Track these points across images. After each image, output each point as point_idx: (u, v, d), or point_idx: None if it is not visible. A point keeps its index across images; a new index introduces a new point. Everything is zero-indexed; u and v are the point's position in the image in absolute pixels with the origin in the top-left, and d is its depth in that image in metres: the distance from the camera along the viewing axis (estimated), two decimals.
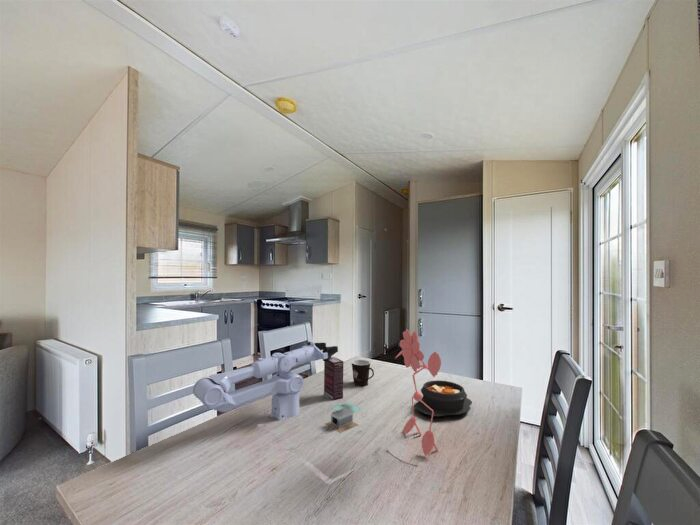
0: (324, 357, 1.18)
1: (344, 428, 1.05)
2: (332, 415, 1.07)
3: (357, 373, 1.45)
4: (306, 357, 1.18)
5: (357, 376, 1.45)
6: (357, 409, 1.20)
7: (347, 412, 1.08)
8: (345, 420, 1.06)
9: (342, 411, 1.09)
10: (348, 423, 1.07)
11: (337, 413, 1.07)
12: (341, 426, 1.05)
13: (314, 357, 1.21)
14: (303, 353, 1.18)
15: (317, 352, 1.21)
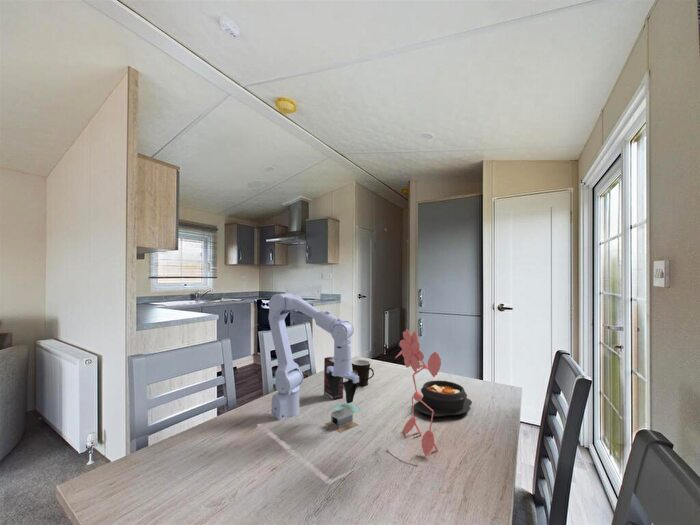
0: None
1: (344, 428, 1.05)
2: (332, 415, 1.07)
3: (357, 373, 1.45)
4: None
5: None
6: (357, 409, 1.20)
7: (347, 412, 1.08)
8: (345, 420, 1.06)
9: (342, 411, 1.09)
10: (348, 423, 1.07)
11: (337, 413, 1.07)
12: (341, 426, 1.05)
13: None
14: (343, 357, 1.06)
15: None
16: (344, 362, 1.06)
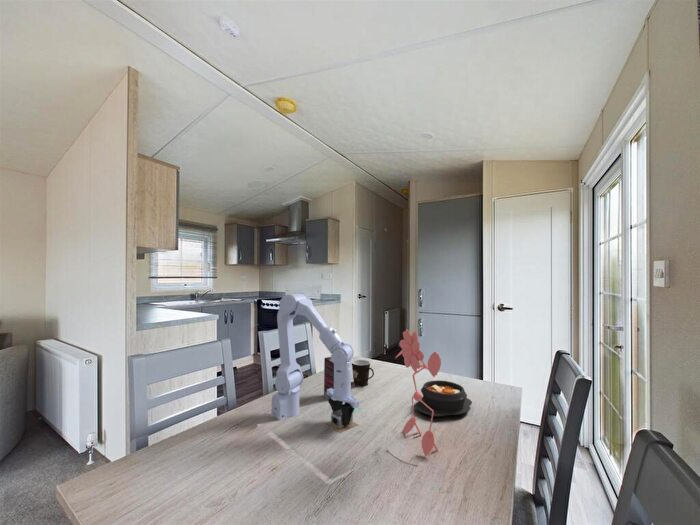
0: None
1: (344, 428, 1.05)
2: (332, 415, 1.07)
3: (357, 373, 1.45)
4: None
5: (357, 376, 1.45)
6: (357, 409, 1.20)
7: None
8: None
9: None
10: None
11: (337, 413, 1.07)
12: (341, 426, 1.05)
13: None
14: (343, 381, 1.06)
15: None
16: (344, 386, 1.06)
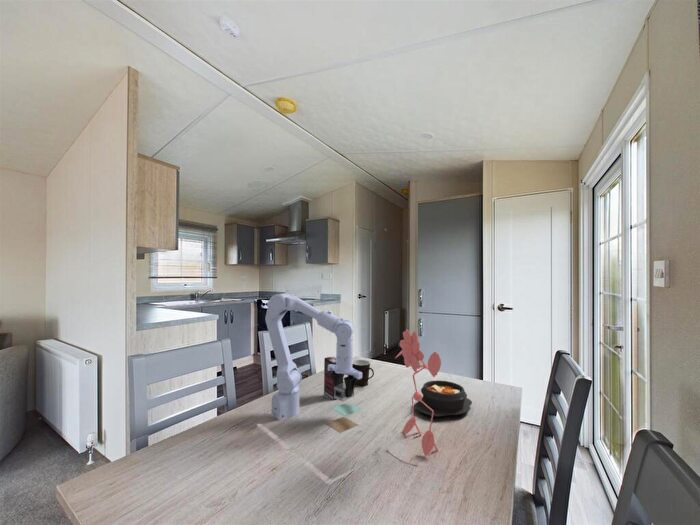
0: None
1: (344, 428, 1.05)
2: (335, 389, 1.12)
3: None
4: None
5: None
6: (357, 409, 1.20)
7: None
8: None
9: (344, 385, 1.14)
10: None
11: (340, 386, 1.12)
12: (344, 398, 1.10)
13: None
14: (347, 355, 1.11)
15: None
16: (347, 360, 1.11)
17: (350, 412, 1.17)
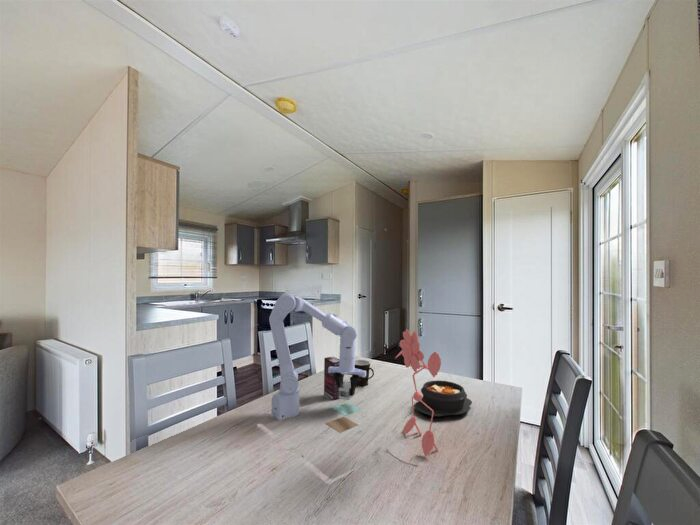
0: None
1: (344, 428, 1.05)
2: (340, 389, 1.18)
3: None
4: None
5: None
6: (357, 409, 1.20)
7: None
8: None
9: (346, 384, 1.21)
10: None
11: (344, 387, 1.18)
12: (350, 397, 1.18)
13: None
14: (352, 356, 1.18)
15: (338, 369, 1.21)
16: (352, 360, 1.18)
17: (350, 412, 1.17)
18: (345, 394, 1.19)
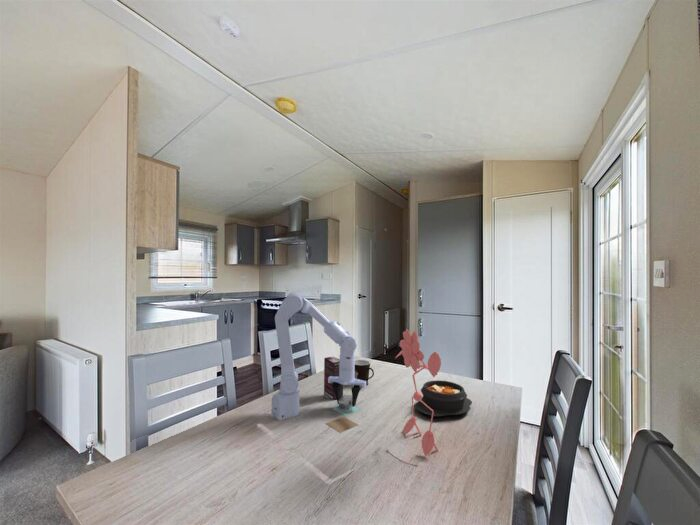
0: None
1: (344, 428, 1.05)
2: (340, 402, 1.18)
3: (357, 373, 1.45)
4: None
5: (357, 376, 1.45)
6: (357, 409, 1.20)
7: (351, 397, 1.21)
8: (351, 404, 1.19)
9: (346, 397, 1.21)
10: (352, 406, 1.20)
11: (344, 399, 1.18)
12: (349, 410, 1.17)
13: None
14: (352, 366, 1.18)
15: (338, 379, 1.21)
16: (352, 371, 1.18)
17: (350, 412, 1.17)
18: (345, 407, 1.19)
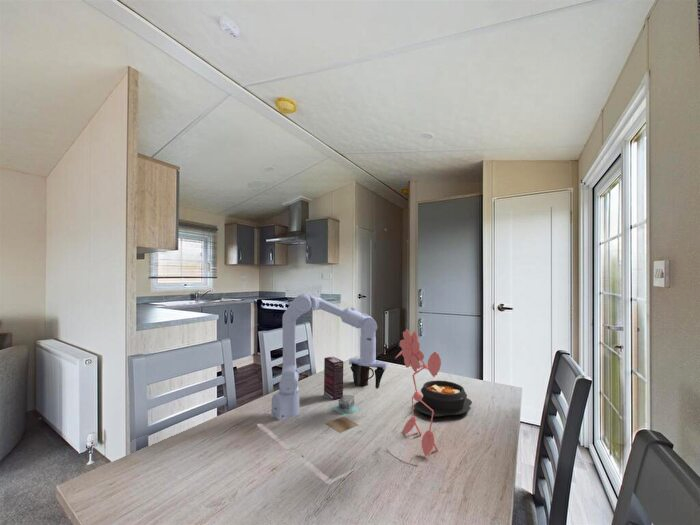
0: None
1: (344, 428, 1.05)
2: (340, 402, 1.18)
3: None
4: None
5: None
6: (357, 409, 1.20)
7: (351, 397, 1.21)
8: (351, 404, 1.19)
9: (346, 397, 1.21)
10: (352, 406, 1.20)
11: (344, 399, 1.18)
12: (349, 410, 1.17)
13: None
14: (373, 347, 1.17)
15: (359, 361, 1.20)
16: (373, 352, 1.17)
17: (350, 412, 1.17)
18: (345, 407, 1.19)
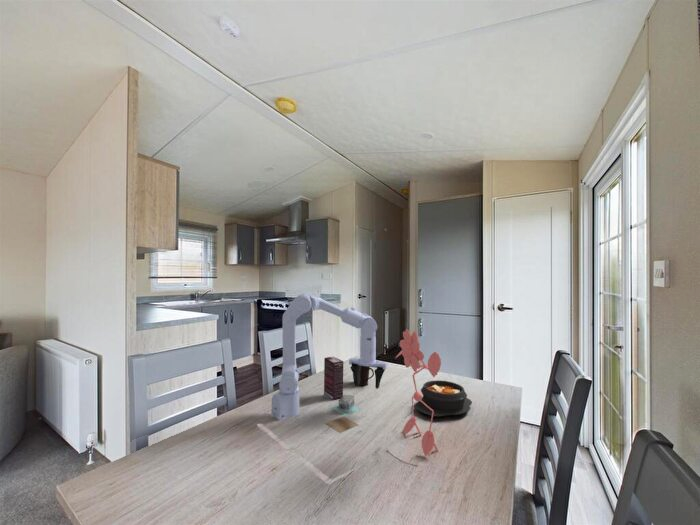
0: None
1: (344, 428, 1.05)
2: (340, 402, 1.18)
3: None
4: None
5: None
6: (357, 409, 1.20)
7: (351, 397, 1.21)
8: (351, 404, 1.19)
9: (346, 397, 1.21)
10: (352, 406, 1.20)
11: (344, 399, 1.18)
12: (349, 410, 1.17)
13: None
14: (373, 347, 1.17)
15: (359, 361, 1.20)
16: (373, 352, 1.17)
17: (350, 412, 1.17)
18: (345, 407, 1.19)
